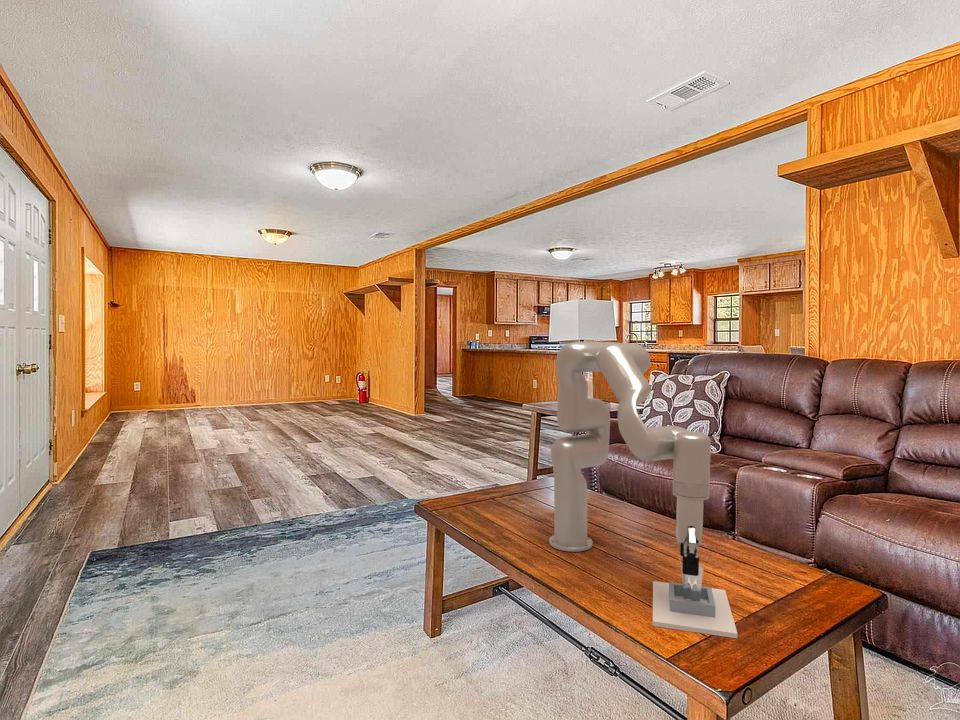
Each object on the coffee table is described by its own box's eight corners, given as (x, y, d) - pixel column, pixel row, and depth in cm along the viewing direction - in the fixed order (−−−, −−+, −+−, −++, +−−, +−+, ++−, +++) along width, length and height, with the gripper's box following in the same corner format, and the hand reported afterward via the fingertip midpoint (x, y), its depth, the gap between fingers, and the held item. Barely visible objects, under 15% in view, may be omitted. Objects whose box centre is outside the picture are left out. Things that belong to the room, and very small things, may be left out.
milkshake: (681, 596, 122) (682, 552, 122) (706, 603, 119) (706, 559, 119) (674, 603, 119) (674, 558, 119) (698, 611, 115) (699, 565, 115)
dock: (652, 585, 130) (653, 570, 130) (724, 594, 126) (725, 579, 125) (652, 626, 111) (652, 609, 111) (737, 638, 107) (737, 621, 106)
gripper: (671, 477, 127) (669, 548, 128) (674, 498, 111) (672, 579, 112) (705, 480, 125) (703, 552, 126) (713, 502, 109) (711, 585, 109)
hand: (688, 565), depth 119 cm, fingers open, 9 cm apart
